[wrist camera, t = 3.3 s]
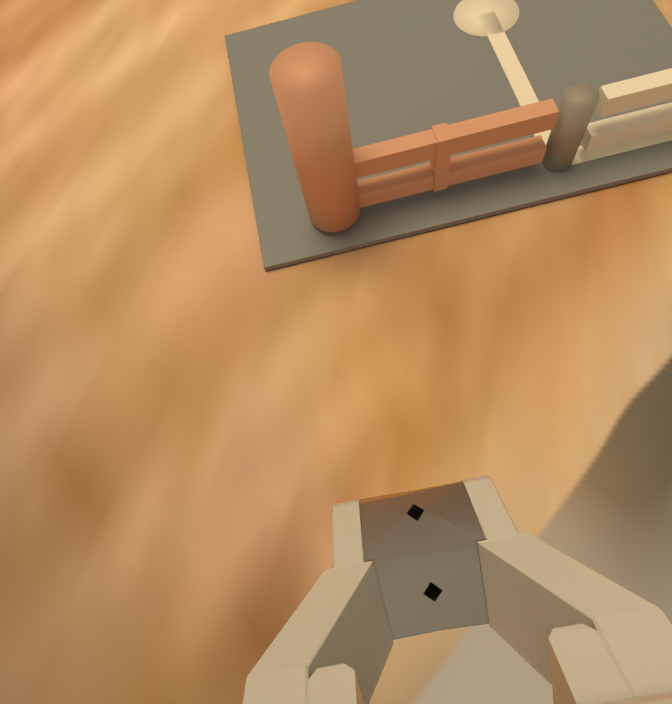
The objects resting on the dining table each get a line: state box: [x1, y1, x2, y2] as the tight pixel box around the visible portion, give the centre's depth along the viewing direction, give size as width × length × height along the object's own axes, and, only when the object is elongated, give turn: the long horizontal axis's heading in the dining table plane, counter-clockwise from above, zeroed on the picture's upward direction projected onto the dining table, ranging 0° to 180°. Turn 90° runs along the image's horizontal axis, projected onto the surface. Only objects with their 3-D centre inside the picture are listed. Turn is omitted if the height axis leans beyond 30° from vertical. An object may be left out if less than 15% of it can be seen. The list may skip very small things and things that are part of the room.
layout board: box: [225, 0, 672, 271], centre depth 35 cm, size 22×30×1 cm
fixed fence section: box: [542, 68, 672, 172], centre depth 27 cm, size 3×12×8 cm, turn 101°
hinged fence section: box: [269, 42, 559, 232], centre depth 27 cm, size 3×14×10 cm, turn 101°
